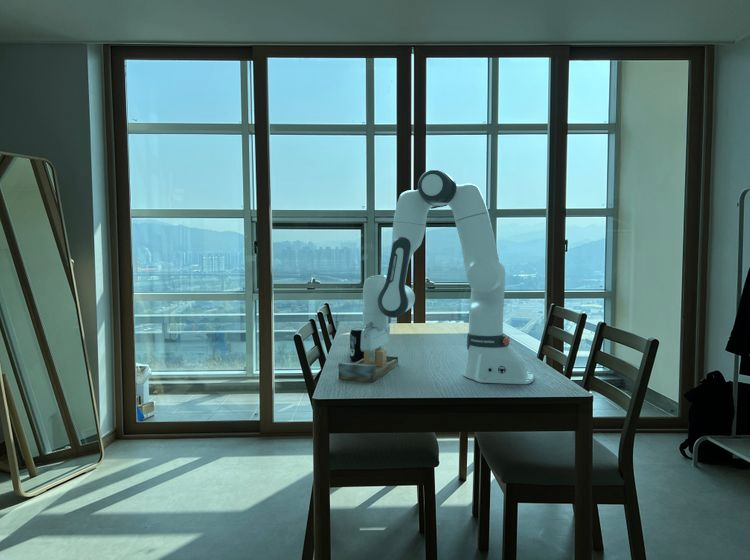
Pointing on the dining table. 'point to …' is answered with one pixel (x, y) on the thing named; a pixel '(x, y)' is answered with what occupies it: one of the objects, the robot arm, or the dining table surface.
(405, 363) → the dining table surface
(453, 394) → the dining table surface
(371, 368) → the track
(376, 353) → the block
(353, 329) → the beverage can
